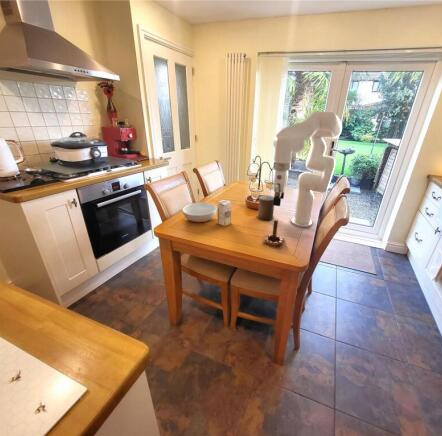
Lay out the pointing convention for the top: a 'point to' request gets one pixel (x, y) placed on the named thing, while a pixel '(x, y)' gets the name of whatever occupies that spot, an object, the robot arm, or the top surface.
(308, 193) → the robot arm
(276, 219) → the post
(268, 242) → the ring
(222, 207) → the syrup box
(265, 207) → the pillar candle
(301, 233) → the top surface
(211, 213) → the serving bowl
